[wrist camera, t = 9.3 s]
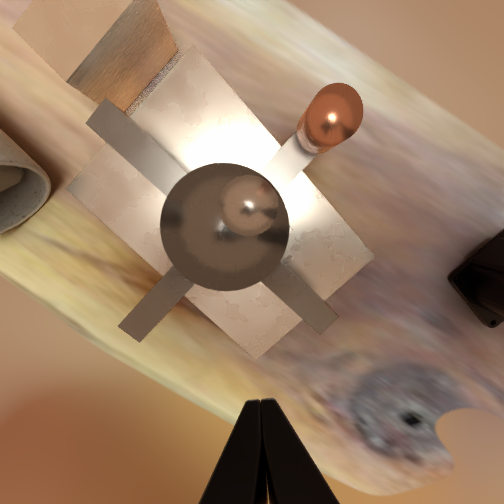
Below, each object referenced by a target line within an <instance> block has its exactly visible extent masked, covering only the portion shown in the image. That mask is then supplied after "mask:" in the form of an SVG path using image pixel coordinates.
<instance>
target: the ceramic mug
mask: <svg viewBox="0 0 504 504" xmlns="http://www.w3.org/2000/svg"><path fill="white" fill-rule="evenodd" d="M50 192H51V182H50V179H49V177H48V175H47V174H46V172H45V171H44V170H43V169H42V168H41V167H40V166H39V165H38V164H37V163H36V162H35V161H34V160H33V159H31V158H30V157H29V156H28V155H27V154H26V153H25V152H24V151H23V150H22V149H21V148H20V147H19V146H18V145H17V144H16V143H15V142H14V141H13V140H12V139H11V138H10V137H9V136H8V135H7V134H6V133H4V132H3V131H2V130H1V129H0V234H1V233H4V232H5V231H7V230H10V229H12V228H14V227H16V226H17V225H19V224H21V223H22V222H24V221H25V220H26V219H28V218H29V217H30V216H32V215H33V214H34V213H35V212H36V211H38V210H39V208H40V207H41V206H42V205H43V204H44V202H45V201H46V200H47V198H48V196H49V194H50Z"/></svg>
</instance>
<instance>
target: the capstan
mask: <svg viewBox="0 0 504 504" xmlns="http://www.w3.org/2000/svg"><path fill="white" fill-rule="evenodd" d="M362 118H363V104H362V100H361V98H360V96H359V94H358V93H357V91H356V90H355V89H354V88H352V87H351V86H349V85H347V84H344V83H333V84H330V85H327V86H325V87H324V88H323V89H321V90H320V91H319V92H318V93H317V95H316V96H315V98H314V99H313V101H312V102H311V103H310V105H309V106H308V108H307V109H306V111H305V112H304V114H303V115H302V117H301V118H300V120H299V122H298V126H297V131H296V132H295V133H294V134H293V135H292V136H291V137H290V138H289V140H288V141H287V142H286V143H285V144H284V145H283V146H282V147H281V148H280V149H279V150H278V152H277V153H276V154H275V155H274V156H273V157H272V158H271V159H270V160H269V161H268V162H267V164H266V165H265V166H264V167H263V168H262V169H261V170H260V171H259V172H257V171H255V170H253V169H251V168H249V167H246V166H243V165H240V164H235V163H225V162H221V163H212V164H207V165H204V166H201V167H198V168H196V169H194V170H192V171H191V172H188V171H187V170H185V169H184V168H183V167H182V166H181V165H180V164H179V163H178V162H177V161H176V160H175V159H174V158H173V157H172V156H171V155H170V154H169V153H167V152H166V151H165V150H164V149H163V148H162V147H161V146H160V145H159V144H158V143H157V142H156V141H155V140H154V139H153V138H152V137H151V136H149V135H148V134H147V133H146V132H145V131H144V130H143V129H142V128H141V127H140V126H139V125H138V124H137V123H136V122H135V121H134V120H133V119H131V118H130V117H129V116H128V115H127V114H126V113H125V112H124V111H123V110H121V109H120V108H119V107H118V106H116V105H115V104H114V103H112V102H111V101H110V100H108V99H107V98H106V97H105V98H104V100H103V101H102V102H101V104H100V105H99V106H98V108H97V109H96V110H95V112H94V113H93V114H92V115H91V117H90V118H89V119H88V121H87V122H86V124H87V125H88V126H89V127H90V128H91V129H92V130H93V131H95V132H96V133H97V134H98V135H99V136H100V137H101V138H102V139H103V140H105V141H106V142H107V143H108V144H109V145H110V146H111V147H112V148H113V149H115V150H116V151H117V152H118V153H119V154H120V155H121V156H122V157H123V158H125V159H126V160H127V161H128V162H129V163H130V164H131V165H132V166H133V167H134V168H136V169H137V170H138V171H139V172H140V173H141V174H142V175H143V176H144V177H146V178H147V179H148V180H149V181H150V182H151V183H152V184H153V185H154V186H156V187H157V188H158V189H159V190H160V191H161V192H162V193H163V194H164V195H166V196H167V198H166V200H165V202H164V205H163V208H162V212H161V217H160V234H161V240H162V243H163V247H164V250H165V252H166V254H167V256H168V258H169V259H170V261H171V263H172V264H173V266H172V267H171V268H170V270H169V271H168V272H167V273H166V274H165V275H164V276H163V277H162V278H161V279H160V280H159V282H158V283H157V284H156V285H155V286H154V287H153V288H152V289H151V290H150V291H149V292H148V294H147V295H146V296H145V297H144V298H143V299H142V300H141V301H140V302H139V303H138V304H137V306H136V307H135V308H134V309H133V310H132V311H131V312H130V313H129V314H128V315H127V316H126V318H125V319H124V320H123V321H122V322H121V323H120V324H119V325H118V327H119V328H121V329H122V330H123V331H125V332H126V333H127V334H129V335H130V336H131V337H133V338H134V339H135V340H137V341H138V342H139V343H140V342H141V341H142V340H143V339H144V337H145V336H146V335H147V334H148V333H149V332H150V331H151V330H152V329H153V328H154V327H155V326H156V325H157V324H158V323H159V322H160V321H161V319H162V318H163V317H164V316H165V315H166V314H167V313H168V312H169V311H170V310H171V309H172V308H173V307H174V306H175V305H176V304H177V303H178V301H179V300H180V299H181V298H182V297H183V296H184V295H185V294H186V293H187V292H188V291H189V290H190V289H191V288H192V287H193V286H194V285H195V284H197V285H199V286H201V287H204V288H207V289H211V290H216V291H237V290H241V289H245V288H248V287H250V286H253V285H255V284H257V283H259V282H260V281H261V282H262V283H263V284H264V285H265V286H266V287H267V288H269V289H270V290H271V291H272V292H273V293H274V294H275V295H276V296H277V297H279V298H280V299H281V300H282V301H283V302H284V303H285V304H286V305H287V306H289V307H290V308H291V309H292V310H293V311H294V312H295V313H296V314H297V315H299V316H300V317H301V318H302V319H303V320H304V321H305V322H306V323H307V324H308V325H310V326H311V327H312V328H313V329H314V330H315V331H316V332H317V333H318V334H321V333H322V332H323V331H324V330H325V329H326V328H328V327H329V326H330V325H331V324H332V323H333V322H334V321H335V320H336V319H337V318H338V317H339V316H338V315H337V314H336V313H335V312H334V310H333V309H332V308H331V307H330V306H329V305H328V304H327V303H326V302H325V301H324V300H323V299H322V298H321V297H320V296H319V295H318V294H317V293H316V292H315V291H314V290H313V289H312V288H311V287H309V286H308V285H307V284H306V283H305V282H304V281H303V280H302V279H301V278H300V277H299V276H298V275H297V274H296V273H295V272H294V271H293V270H291V269H290V268H289V267H288V266H287V265H286V264H285V263H284V262H283V261H282V260H281V259H282V257H283V255H284V253H285V250H286V247H287V244H288V239H289V229H290V228H289V217H288V212H287V209H286V206H285V203H284V201H283V199H282V197H281V195H280V194H281V192H282V191H283V190H284V189H285V188H286V187H287V186H288V185H289V184H290V183H291V182H292V181H293V180H294V179H295V178H296V177H297V176H298V174H299V173H300V172H301V171H302V170H303V169H304V168H305V167H306V166H307V165H308V164H309V163H310V162H311V161H312V160H313V159H314V158H315V156H316V155H317V154H320V153H324V152H326V151H328V150H330V149H331V148H333V147H335V146H336V145H338V144H340V143H341V142H343V141H345V140H346V139H348V138H349V137H351V136H352V135H353V134H354V133H355V132H356V131H357V129H358V128H359V126H360V124H361V121H362Z"/></svg>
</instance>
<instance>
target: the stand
mask: <svg viewBox="0 0 504 504" xmlns="http://www.w3.org/2000/svg"><path fill="white" fill-rule="evenodd" d="M13 29H14V30H15V31H16V32H17V33H18V34H19V35H20V36H21V37H22V38H23V39H24V40H25V41H26V42H27V43H28V44H29V45H30V46H31V47H32V48H33V49H34V50H35V51H36V52H37V53H38V54H39V55H40V56H41V57H42V58H43V59H44V60H45V61H46V62H47V63H48V64H49V65H50V66H51V67H52V68H53V69H54V70H55V71H56V72H57V73H58V74H59V75H60V76H61V77H62V78H63V79H64V80H65V81H66V82H67V83H68V84H70V85H71V86H73V87H74V88H76V89H77V90H79V91H80V92H82V93H83V94H84V95H86V96H87V97H89V98H90V99H92V100H93V101H95V102H96V103H98V104H99V105H100V104H101V102H102V101H103V100H104V98H105V97H106V98H107V99H108V100H110V101H111V102H112V103H114V104H115V105H116V106H118V107H119V108H120V109H121V110H123V111H124V112H125V111H126V109H127V108H128V107H129V106H130V105H131V104H132V103H133V101H134V100H135V99H136V98H137V97H138V96H139V95H140V93H141V92H142V91H143V90H144V89H145V88H146V87H147V85H148V84H149V83H150V82H151V81H152V80H153V79H154V78H155V76H156V75H157V74H158V73H159V72H160V71H161V70H162V68H163V67H164V66H165V65H166V64H167V63H168V62H169V60H170V59H171V58H172V57H173V56H174V55H175V54H176V52H177V51H178V50H177V47H176V45H175V42H174V40H173V38H172V35H171V33H170V31H169V28H168V26H167V24H166V21H165V19H164V17H163V14H162V12H161V10H160V7H159V5H158V3H157V0H33V1H32V3H31V4H30V5H29V7H28V8H27V9H26V11H25V12H24V13H23V14H22V16H21V17H20V18H19V20H18V21H17V22H16V24H15V25H14V26H13ZM130 118H131V119H133V120H134V121H135V122H136V123H137V124H138V125H139V126H140V127H141V128H142V129H143V130H144V131H145V132H146V133H147V134H148V135H149V136H151V137H152V138H153V139H154V140H155V141H156V142H157V143H158V144H159V145H160V146H161V147H162V148H163V149H164V150H165V151H166V152H167V153H169V154H170V155H171V156H172V157H173V158H174V159H175V160H176V161H177V162H178V163H179V164H180V165H181V166H182V167H183V168H184V169H185V170H187V171H188V172H191V171H192V170H194V169H196V168H198V167H201V166H204V165H207V164H212V163H221V162H225V163H235V164H240V165H243V166H246V167H249V168H251V169H253V170H255V171H257V172H259V171H260V170H261V169H262V168H263V167H264V166H265V165H266V164H267V162H268V161H269V160H270V159H271V158H272V157H273V156H274V155H275V154H276V153H277V152H278V150H279V149H280V148H281V146H280V145H279V143H278V142H277V141H276V140H275V139H274V138H273V136H272V135H271V134H270V133H269V132H268V131H267V129H266V128H265V127H264V126H263V125H262V124H261V122H260V121H259V120H258V119H257V118H256V117H255V115H254V114H253V113H252V112H251V111H250V110H249V108H248V107H247V106H246V105H245V104H244V103H243V101H242V100H241V99H240V98H239V97H238V96H237V94H236V93H235V92H234V91H233V90H232V89H231V87H230V86H229V85H228V84H227V83H226V82H225V80H224V79H223V78H222V77H221V76H220V75H219V73H218V72H217V71H216V70H215V69H214V68H213V66H212V65H211V64H210V63H209V62H208V61H207V59H206V58H205V57H204V56H203V55H202V54H201V52H200V51H199V50H198V49H197V48H196V47H195V45H194V44H193V46H192V47H191V48H190V49H189V50H188V51H187V52H186V53H185V55H184V56H183V57H182V58H181V59H180V60H179V61H178V62H177V64H176V65H175V66H174V67H173V68H172V69H171V70H170V72H169V73H168V74H167V75H166V76H165V77H164V78H163V79H162V81H161V82H160V83H159V84H158V85H157V86H156V87H155V88H154V90H153V91H152V92H151V93H150V94H149V95H148V96H147V98H146V99H145V100H144V101H143V102H142V103H141V104H140V105H139V107H138V108H137V109H136V110H135V111H134V112H133V113H132V115H131V116H130ZM66 190H68V191H69V192H70V193H71V194H72V195H73V196H74V197H75V198H76V199H78V200H79V201H80V202H81V203H82V204H83V205H84V206H85V207H86V208H88V209H89V210H90V211H91V212H92V213H93V214H94V215H95V216H96V217H98V218H99V219H100V220H101V221H102V222H103V223H104V224H105V225H106V226H108V227H109V228H110V229H111V230H112V231H113V232H114V233H115V234H116V235H118V236H119V237H120V238H121V239H122V240H123V241H124V242H125V243H126V244H127V245H129V246H130V247H131V248H132V249H133V250H134V251H135V252H136V253H137V254H139V255H140V256H141V257H142V258H143V259H144V260H145V261H146V262H147V263H149V264H150V265H151V266H152V267H153V268H154V269H155V270H156V271H157V272H159V273H160V274H161V275H162V276H164V275H165V274H166V273H167V272H168V271H169V270H170V268H171V267H172V266H173V264H172V263H171V261H170V259H169V258H168V256H167V254H166V252H165V250H164V247H163V243H162V240H161V234H160V217H161V212H162V208H163V205H164V202H165V200H166V198H167V196H166V195H164V194H163V193H162V192H161V191H160V190H159V189H158V188H157V187H156V186H154V185H153V184H152V183H151V182H150V181H149V180H148V179H147V178H146V177H144V176H143V175H142V174H141V173H140V172H139V171H138V170H137V169H136V168H134V167H133V166H132V165H131V164H130V163H129V162H128V161H127V160H126V159H125V158H123V157H122V156H121V155H120V154H119V153H118V152H117V151H116V150H115V149H113V148H112V147H111V146H110V145H109V144H108V143H106V144H105V145H104V146H103V147H102V148H101V150H100V151H99V152H98V153H97V154H96V155H95V156H94V157H93V159H92V160H91V161H90V162H89V163H88V164H87V165H86V167H85V168H84V169H83V170H82V171H81V172H80V173H79V174H78V176H77V177H76V178H75V179H74V180H73V181H72V182H71V184H70V185H69V186H68V187H67V188H66ZM280 195H281V197H282V199H283V201H284V203H285V206H286V209H287V212H288V217H289V228H290V229H289V239H288V244H287V247H286V250H285V253H284V255H283V257H282V259H281V260H282V261H283V262H284V263H285V264H286V265H287V266H288V267H289V268H290V269H291V270H293V271H294V272H295V273H296V274H297V275H298V276H299V277H300V278H301V279H302V280H303V281H304V282H305V283H306V284H307V285H308V286H309V287H311V288H312V289H313V290H314V291H315V292H316V293H317V294H318V295H319V296H320V297H321V298H322V299H323V300H324V301H325V300H326V299H327V298H328V297H329V296H330V295H332V294H333V293H334V292H335V291H336V290H337V289H339V288H340V287H341V286H342V285H343V284H344V283H345V282H347V281H348V280H349V279H350V278H351V277H352V276H354V275H355V274H356V273H357V272H358V271H359V270H360V269H362V268H363V267H364V266H365V265H366V264H367V263H369V262H370V261H371V260H372V259H373V258H374V257H375V256H374V255H373V253H372V252H371V251H370V250H369V249H368V247H367V246H366V245H365V244H364V243H363V242H362V240H361V239H360V238H359V237H358V236H357V235H356V233H355V232H354V231H353V230H352V229H351V228H350V226H349V225H348V224H347V223H346V222H345V221H344V219H343V218H342V217H341V216H340V215H339V214H338V212H337V211H336V210H335V209H334V208H333V207H332V205H331V204H330V203H329V202H328V201H327V200H326V198H325V197H324V196H323V195H322V194H321V193H320V191H319V190H318V189H317V188H316V187H315V186H314V184H313V183H312V182H311V181H310V180H309V179H308V177H307V176H306V175H305V174H304V173H303V172H302V171H301V172H300V173H299V174H298V176H297V177H296V178H295V179H294V180H293V181H292V182H291V183H290V184H289V185H288V186H287V187H286V188H285V189H284V190H283V191H282V192H281V194H280ZM184 296H185V297H186V298H187V299H188V300H190V301H191V302H192V303H193V304H194V305H195V306H196V307H197V308H198V309H200V310H201V311H202V312H203V313H204V314H205V315H206V316H207V317H208V318H210V319H211V320H212V321H213V322H214V323H215V324H216V325H217V326H218V327H220V328H221V329H222V330H223V331H224V332H225V333H226V334H227V335H228V336H230V337H231V338H232V339H233V340H234V341H235V342H236V343H237V344H238V345H239V346H241V347H242V348H243V349H244V350H245V351H246V352H247V353H248V354H249V355H251V356H252V357H253V358H254V359H255V360H257V359H258V358H259V357H260V356H261V355H262V354H264V353H265V352H266V351H267V350H268V349H269V348H271V347H272V346H273V345H274V344H275V343H276V342H277V341H279V340H280V339H281V338H282V337H283V336H284V335H286V334H287V333H288V332H289V331H290V330H291V329H292V328H294V327H295V326H296V325H297V324H298V323H299V322H301V321H302V320H303V319H302V318H301V317H300V316H299V315H297V314H296V313H295V312H294V311H293V310H292V309H291V308H290V307H289V306H287V305H286V304H285V303H284V302H283V301H282V300H281V299H280V298H279V297H277V296H276V295H275V294H274V293H273V292H272V291H271V290H270V289H269V288H267V287H266V286H265V285H264V284H263V283H262V282H261V281H260V282H259V283H257V284H255V285H253V286H250V287H248V288H245V289H241V290H237V291H216V290H211V289H207V288H204V287H201V286H199V285H197V284H195V285H194V286H193V287H192V288H191V289H190V290H189V291H188V292H187V293H186V294H185V295H184Z"/></svg>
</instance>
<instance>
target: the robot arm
mask: <svg viewBox="0 0 504 504" xmlns="http://www.w3.org/2000/svg"><path fill="white" fill-rule="evenodd" d="M457 277H458V279H457V280H456V278H457ZM449 281H450V282H451V284H452V285H453V286H454V287H455V289H456V290H457V291H458V292H459V294H460V295H461V296H462V297H463V299H464V300H465V301H466V302H467V304H468V305H469V306H470V307H471V309H472V310H473V311H474V312H475V314H476V315H477V316H478V317H479V319H480V320H481V321H482V322H483V324H484V325H486V326H488V327H490V328H494V327H496V326H498V325H499V324H500V323H502V322H503V321H504V231H503V232H502V233H501V234H500V235H498V236H497V237H496V238H495V239H493V240H492V241H491V242H490V243H489V244H487V245H486V246H485V247H484V248H482V249H481V250H480V251H479V252H478V253H476V254H475V255H474V256H473V257H471V258H470V259H469V260H468V261H467V262H465V263H464V264H463V265H462V266H460V267H459V268H458V269H457V270H456V271H454V272H453V273H452V274H451V275H450V277H449ZM267 486H268V490H267ZM268 495H269V504H340V503H339V502H338V500H337V499H336V497H335V496H334V494H333V492H332V490H331V489H330V487H329V486H328V484H327V482H326V481H325V479H324V477H323V476H322V474H321V472H320V471H319V469H318V468H317V466H316V464H315V463H314V461H313V459H312V458H311V456H310V455H309V453H308V451H307V450H306V448H305V446H304V445H303V443H302V442H301V440H300V438H299V437H298V435H297V433H296V432H295V430H294V429H293V427H292V425H291V424H290V422H289V420H288V419H287V417H286V416H285V414H284V412H283V411H282V409H281V407H280V406H279V404H278V403H277V401H276V400H275V399H274V398H266V399H262V400H261V402H260V400H259V399H255V400H247V401H246V402H245V404H244V406H243V408H242V411H241V413H240V415H239V417H238V419H237V421H236V424H235V426H234V428H233V430H232V432H231V434H230V437H229V439H228V441H227V443H226V445H225V447H224V450H223V452H222V454H221V456H220V458H219V460H218V462H217V465H216V467H215V469H214V471H213V473H212V475H211V477H210V480H209V482H208V484H207V486H206V488H205V490H204V493H203V495H202V497H201V499H200V501H199V503H198V504H268Z"/></svg>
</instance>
